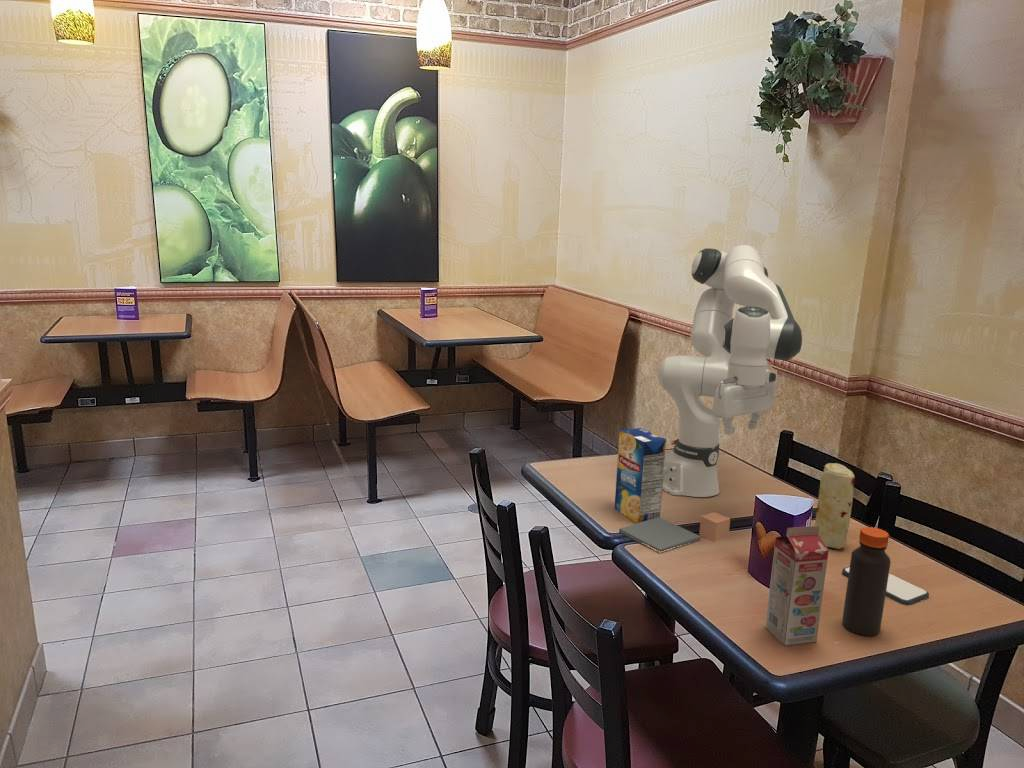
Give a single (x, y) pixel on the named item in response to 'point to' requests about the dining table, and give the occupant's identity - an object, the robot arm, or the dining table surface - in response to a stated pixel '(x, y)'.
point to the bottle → (867, 583)
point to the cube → (714, 526)
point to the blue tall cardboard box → (639, 474)
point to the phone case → (900, 590)
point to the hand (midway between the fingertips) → (740, 431)
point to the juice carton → (797, 585)
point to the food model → (835, 504)
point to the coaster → (659, 534)
